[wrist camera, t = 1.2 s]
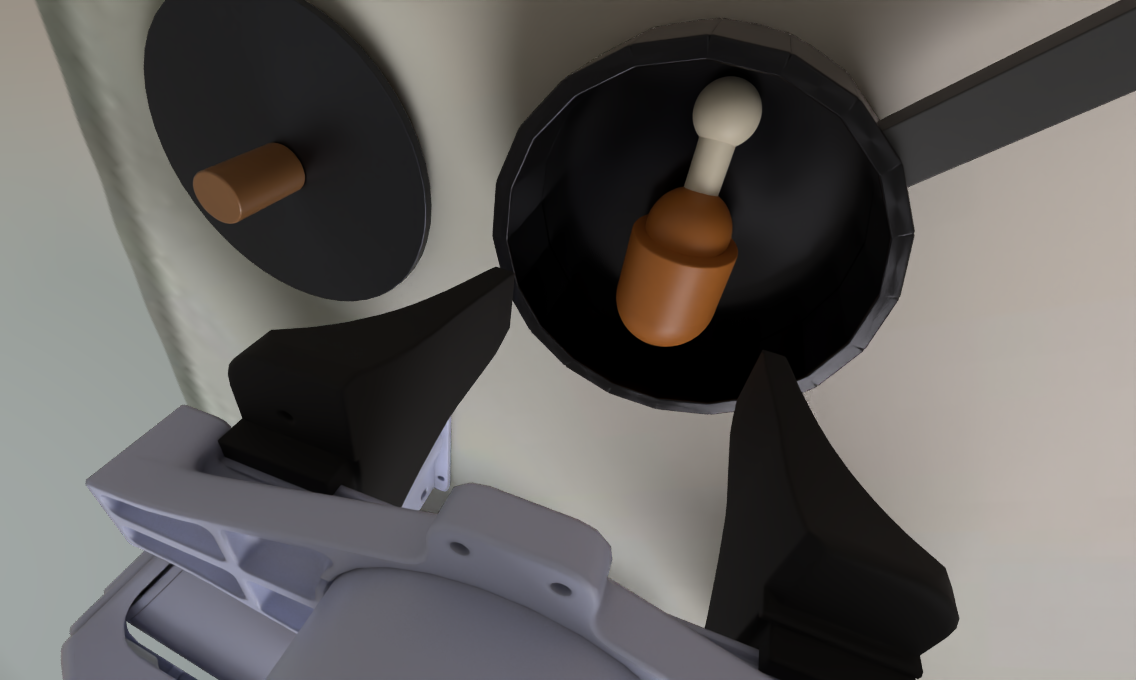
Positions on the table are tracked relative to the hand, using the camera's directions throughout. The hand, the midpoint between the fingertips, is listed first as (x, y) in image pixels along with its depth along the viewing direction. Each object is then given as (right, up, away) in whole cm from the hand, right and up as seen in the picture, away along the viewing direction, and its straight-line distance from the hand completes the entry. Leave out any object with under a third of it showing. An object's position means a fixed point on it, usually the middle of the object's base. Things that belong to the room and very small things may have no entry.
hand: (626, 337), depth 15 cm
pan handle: (+11, +7, -2) cm, 13 cm away
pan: (+3, +5, +5) cm, 8 cm away
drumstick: (+3, +5, +5) cm, 8 cm away
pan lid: (-14, +8, +9) cm, 19 cm away
